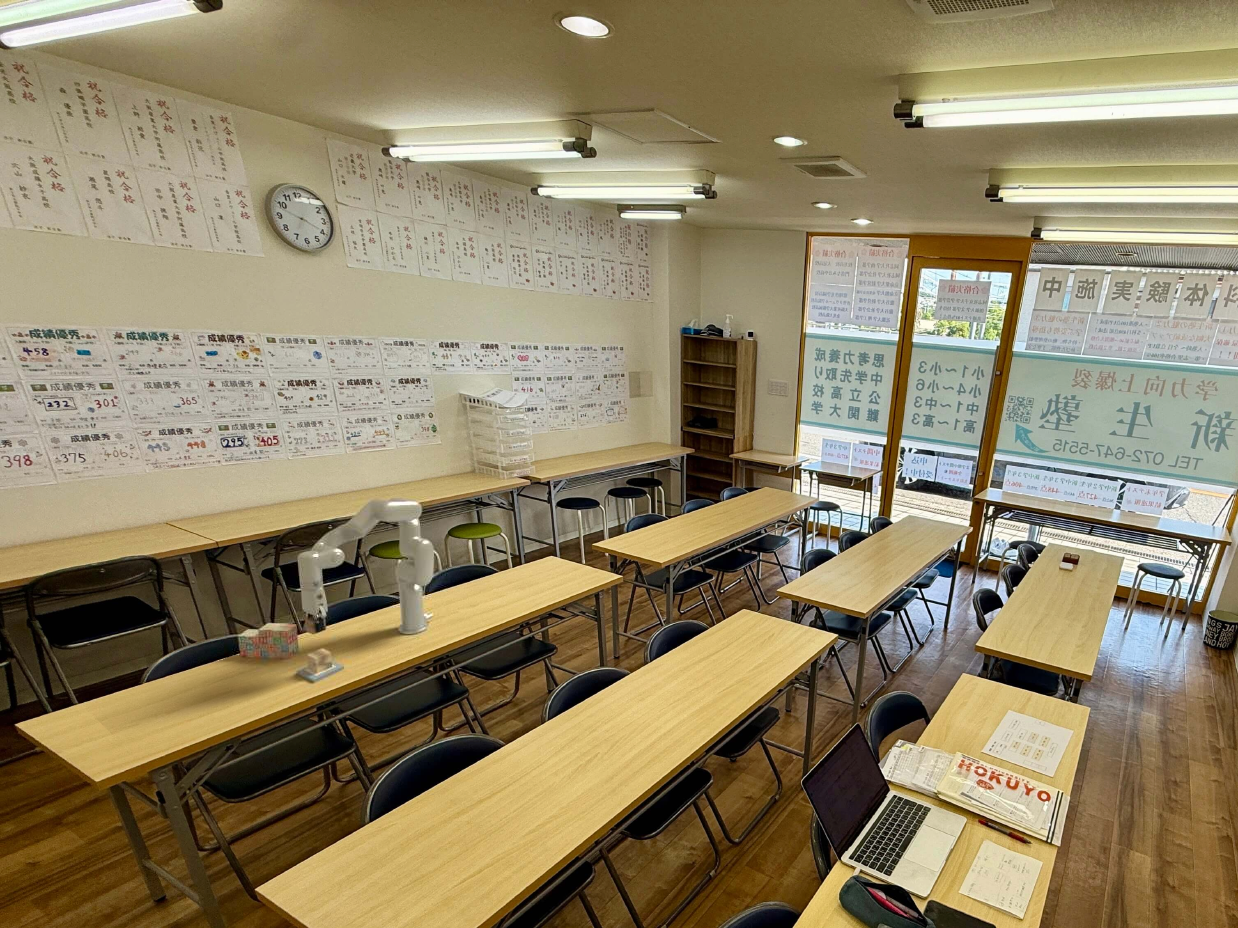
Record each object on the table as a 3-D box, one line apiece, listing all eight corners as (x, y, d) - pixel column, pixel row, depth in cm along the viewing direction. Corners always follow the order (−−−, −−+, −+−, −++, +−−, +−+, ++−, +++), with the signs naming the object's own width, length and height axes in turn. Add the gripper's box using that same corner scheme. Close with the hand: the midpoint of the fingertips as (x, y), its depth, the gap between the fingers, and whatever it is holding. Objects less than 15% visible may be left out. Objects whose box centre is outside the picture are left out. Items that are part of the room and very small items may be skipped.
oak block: (323, 662, 227) (322, 648, 226) (332, 666, 224) (331, 652, 223) (308, 669, 223) (307, 654, 222) (317, 673, 219) (315, 658, 218)
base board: (327, 660, 232) (326, 657, 232) (344, 668, 225) (344, 665, 225) (296, 673, 222) (296, 670, 222) (313, 682, 215) (313, 679, 215)
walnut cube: (319, 626, 224) (317, 614, 223) (326, 629, 221) (324, 617, 220) (306, 631, 220) (304, 618, 219) (313, 634, 217) (311, 621, 216)
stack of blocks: (239, 657, 235) (236, 628, 233) (250, 649, 241) (247, 622, 239) (289, 659, 233) (286, 630, 231) (299, 651, 239) (296, 623, 237)
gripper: (334, 585, 216) (338, 631, 219) (309, 576, 225) (313, 620, 228) (314, 592, 210) (318, 639, 213) (289, 582, 219) (294, 627, 222)
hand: (316, 629), depth 220 cm, fingers closed on walnut cube, 5 cm apart
